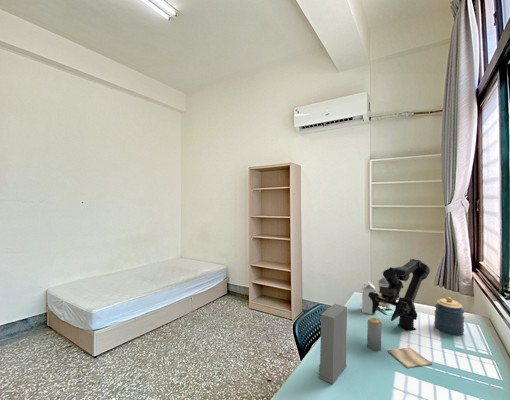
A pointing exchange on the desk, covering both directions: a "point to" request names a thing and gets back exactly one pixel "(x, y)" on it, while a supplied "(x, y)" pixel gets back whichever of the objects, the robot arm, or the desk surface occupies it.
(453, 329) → the canister
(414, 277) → the robot arm
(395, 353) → the mat
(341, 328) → the tall grey pillar
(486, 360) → the desk surface
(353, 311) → the desk surface
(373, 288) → the milk carton
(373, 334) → the canister
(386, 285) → the aerosol can
